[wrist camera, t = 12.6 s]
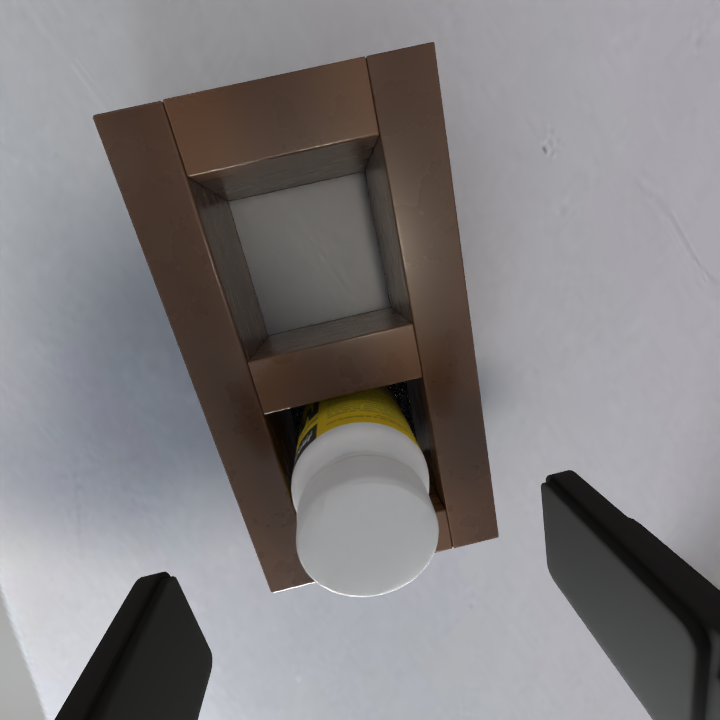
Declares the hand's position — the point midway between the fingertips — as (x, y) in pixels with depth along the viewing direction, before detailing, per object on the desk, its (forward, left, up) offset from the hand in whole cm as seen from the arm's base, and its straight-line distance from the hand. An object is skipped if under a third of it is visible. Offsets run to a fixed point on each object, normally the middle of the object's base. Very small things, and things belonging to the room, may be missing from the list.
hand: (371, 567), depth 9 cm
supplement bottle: (0, 0, -9) cm, 9 cm away
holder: (0, +4, -9) cm, 10 cm away
